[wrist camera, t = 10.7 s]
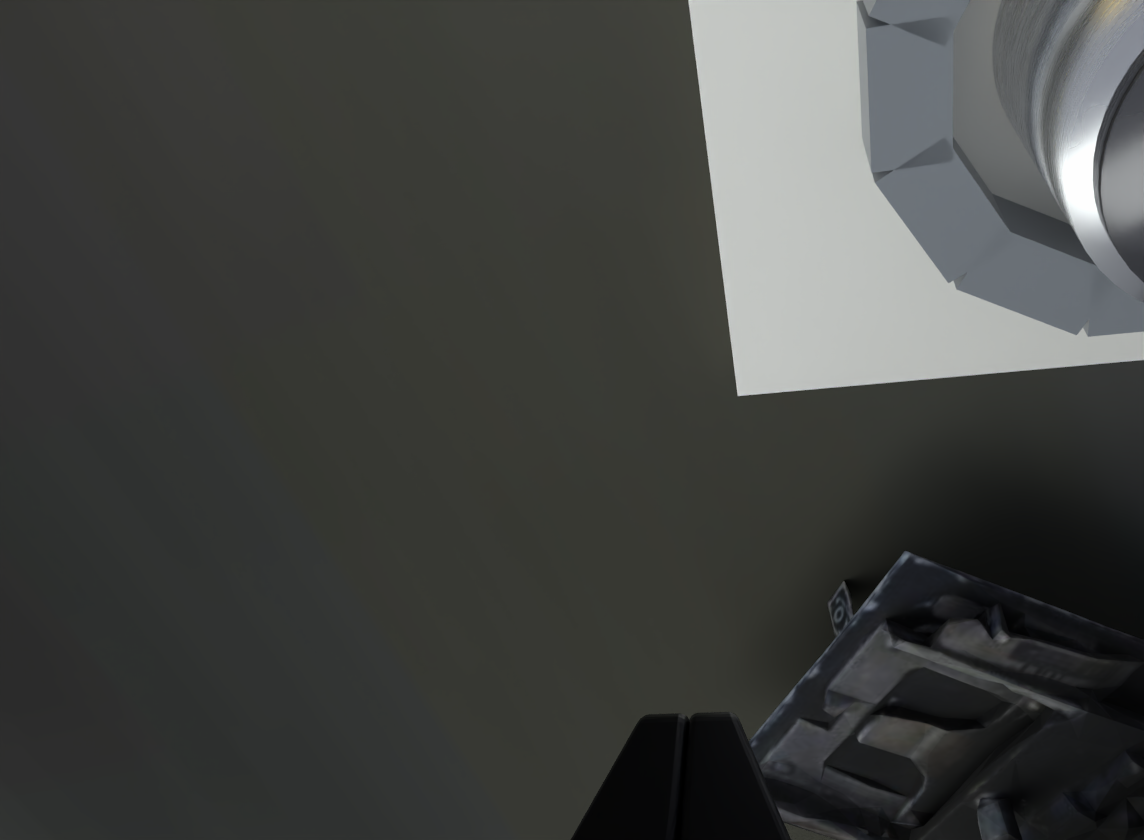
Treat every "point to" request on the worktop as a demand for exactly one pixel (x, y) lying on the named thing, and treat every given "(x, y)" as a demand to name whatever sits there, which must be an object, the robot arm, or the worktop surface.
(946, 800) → the vintage camera
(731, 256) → the barrel plate
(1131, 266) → the metal cylinder
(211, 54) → the worktop surface
